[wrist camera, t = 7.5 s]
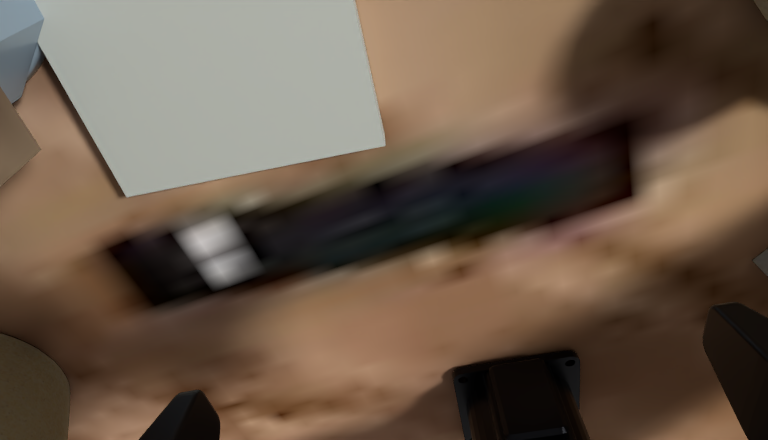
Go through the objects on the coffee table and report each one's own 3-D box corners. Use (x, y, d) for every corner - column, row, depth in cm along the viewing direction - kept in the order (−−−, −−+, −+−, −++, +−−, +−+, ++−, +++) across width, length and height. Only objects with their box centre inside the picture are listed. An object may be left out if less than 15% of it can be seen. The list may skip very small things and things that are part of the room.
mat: (384, 133, 20) (385, 145, 19) (136, 183, 21) (126, 197, 20) (311, -197, 14) (308, -201, 13) (-27, -110, 15) (-49, -108, 14)
